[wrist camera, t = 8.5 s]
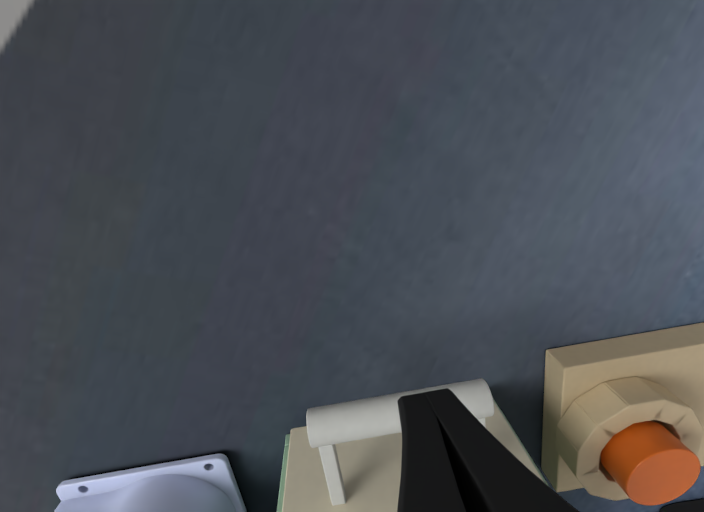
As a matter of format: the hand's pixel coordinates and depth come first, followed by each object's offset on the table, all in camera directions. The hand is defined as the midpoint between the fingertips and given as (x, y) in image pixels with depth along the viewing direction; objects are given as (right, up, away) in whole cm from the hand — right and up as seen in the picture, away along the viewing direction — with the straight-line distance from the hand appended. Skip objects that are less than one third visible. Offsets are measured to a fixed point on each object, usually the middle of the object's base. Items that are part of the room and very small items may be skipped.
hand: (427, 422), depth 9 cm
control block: (+14, -4, +12) cm, 19 cm away
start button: (+13, -6, +9) cm, 17 cm away
